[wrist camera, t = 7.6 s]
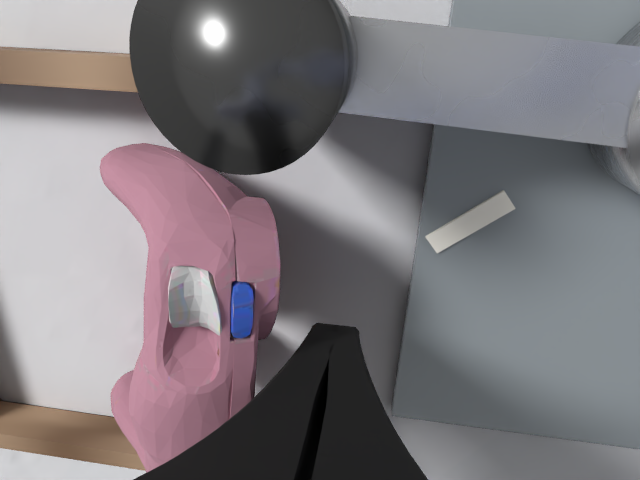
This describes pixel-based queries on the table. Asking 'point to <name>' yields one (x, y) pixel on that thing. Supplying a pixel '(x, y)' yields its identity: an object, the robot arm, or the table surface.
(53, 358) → the table surface
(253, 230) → the video game controller
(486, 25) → the plate
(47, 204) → the table surface
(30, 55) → the bay
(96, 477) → the table surface
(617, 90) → the crank
